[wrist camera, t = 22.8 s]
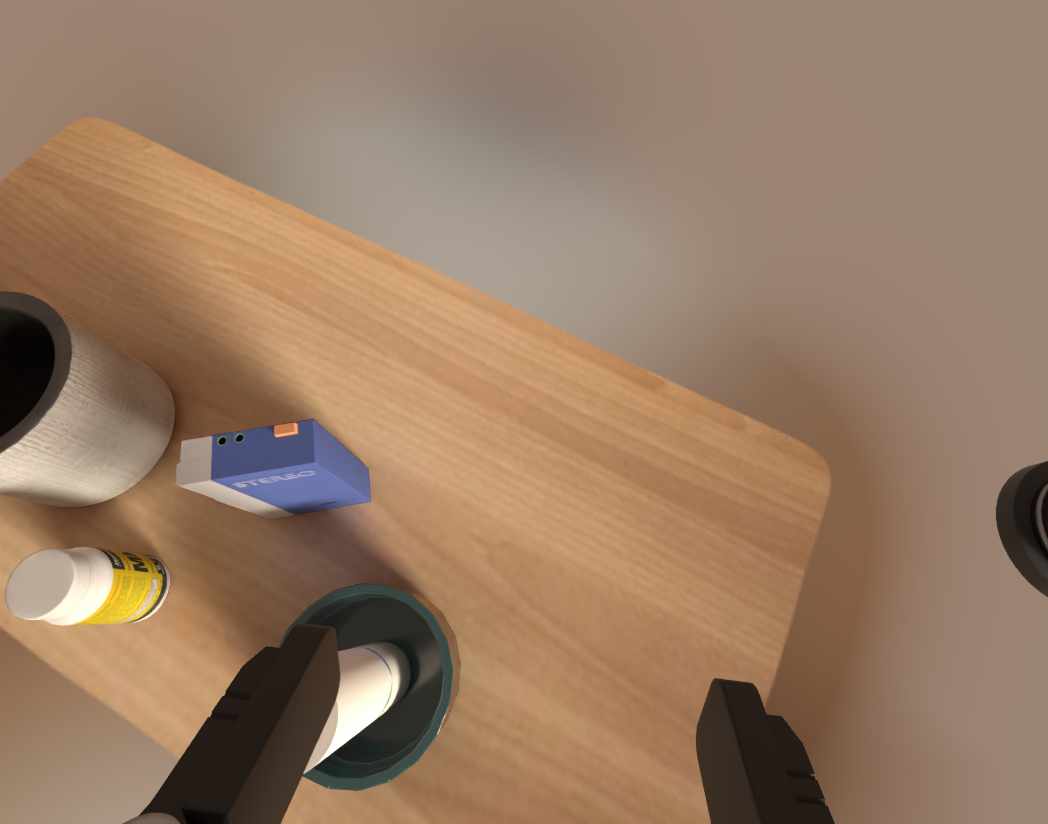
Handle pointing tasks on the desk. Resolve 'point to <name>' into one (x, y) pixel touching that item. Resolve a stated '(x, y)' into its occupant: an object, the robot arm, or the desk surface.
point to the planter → (73, 409)
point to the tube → (362, 693)
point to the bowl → (429, 694)
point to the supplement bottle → (87, 586)
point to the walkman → (274, 470)
